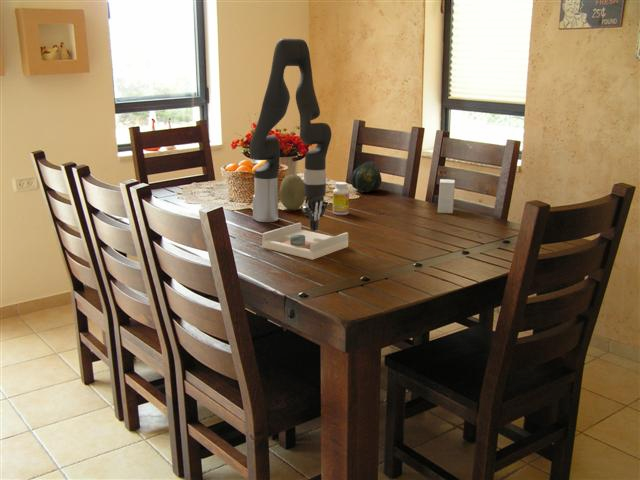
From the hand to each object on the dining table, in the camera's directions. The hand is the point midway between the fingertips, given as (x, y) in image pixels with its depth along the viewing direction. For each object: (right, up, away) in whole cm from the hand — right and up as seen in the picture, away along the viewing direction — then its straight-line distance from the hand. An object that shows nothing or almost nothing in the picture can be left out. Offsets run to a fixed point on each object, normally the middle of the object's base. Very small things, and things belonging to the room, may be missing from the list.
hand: (314, 230), depth 250 cm
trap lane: (-3, -6, -3) cm, 7 cm away
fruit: (-10, +9, +52) cm, 54 cm away
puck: (-5, -5, -8) cm, 11 cm away
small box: (+55, +9, +53) cm, 77 cm away
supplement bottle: (+11, +7, +46) cm, 48 cm away
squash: (+24, +20, +91) cm, 96 cm away
